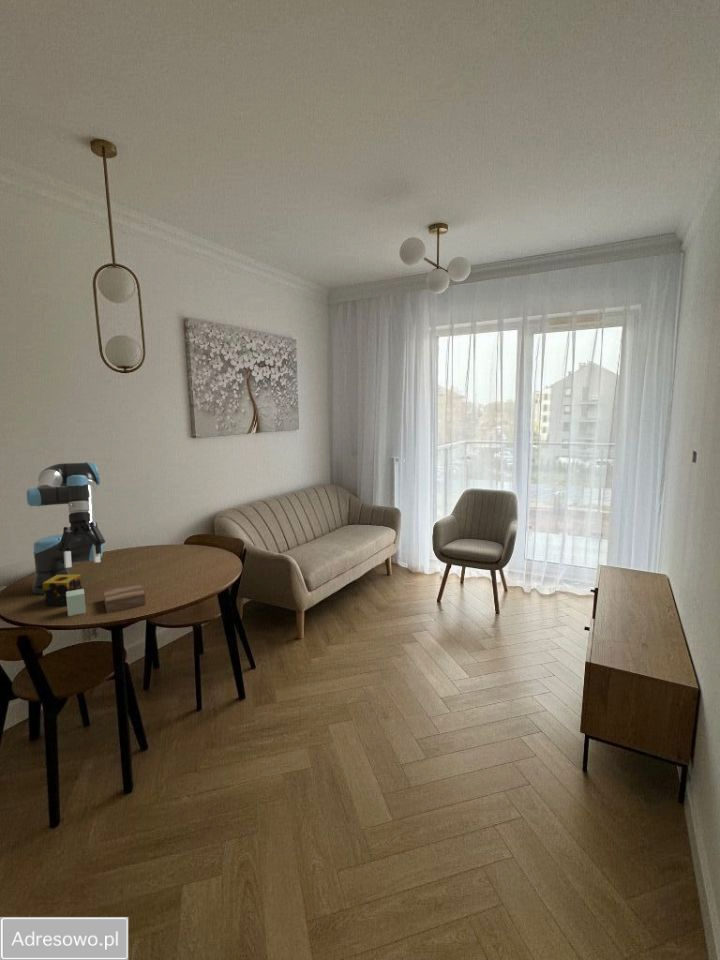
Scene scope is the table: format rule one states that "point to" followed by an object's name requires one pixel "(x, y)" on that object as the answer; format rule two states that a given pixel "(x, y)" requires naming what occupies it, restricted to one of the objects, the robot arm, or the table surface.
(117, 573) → the table surface
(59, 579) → the candle
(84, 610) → the sage block
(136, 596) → the walnut block
